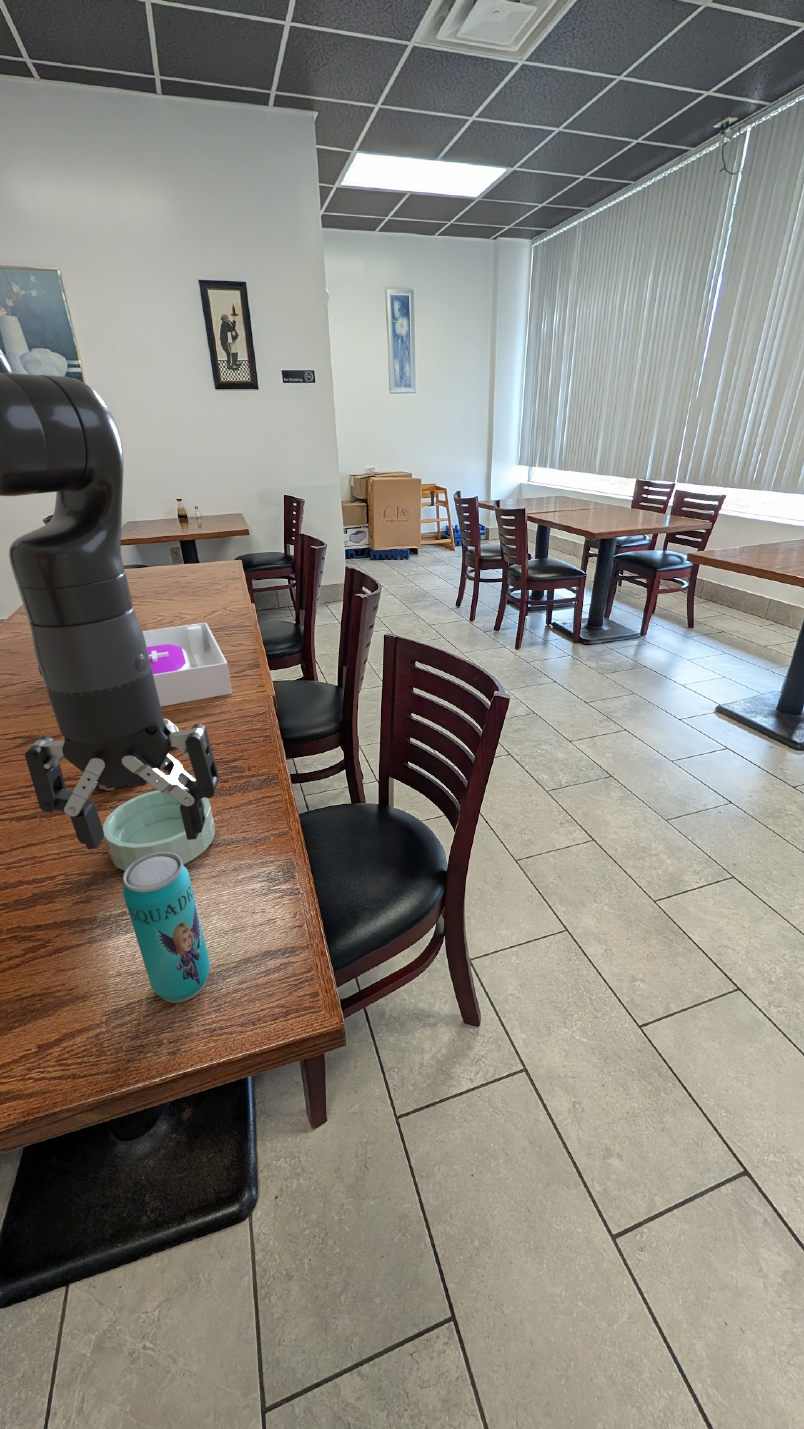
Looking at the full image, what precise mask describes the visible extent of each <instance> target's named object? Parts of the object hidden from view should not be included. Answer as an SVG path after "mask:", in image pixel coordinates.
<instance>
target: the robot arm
mask: <svg viewBox="0 0 804 1429" xmlns="http://www.w3.org/2000/svg"><path fill="white" fill-rule="evenodd" d="M123 486H124V450H123V442H122V438H121V434H120V430H119V426H118V425H117V422H116V420H115V418H114V415H113V413H112V411H111V410H110V408H109V407H108V405H107V404H106V402H105V401H104V399H103V398H102V397H101V396H100V394H98V392H96V391H95V390H94V389H93V388H92V387H91V386H90V385H88V384H87V383H85V382H83V381H81V380H79V379H77V378H73V377H69V376H62V375H47V374H29V373H28V374H27V373H14V372H13V368H12V366H11V365H10V361H9V360H8V358H7V357H6V355H5V354H4V352H3V351H2V349H0V497H19V496H21V497H22V496H28V495H37V494H45V493H56V495H55V503H54V510H53V515H52V517H51V519H50V520H49V522H47V523H45V525H43V526H41V527H39V528H37V529H34V530H32V531H30V532H27V533H25V534H23V535H21V536H20V537H17V538H15V540H14V541H13V542H12V543H11V544H10V546H9V550H8V558H9V564H10V566H11V571H12V574H13V577H14V580H15V583H16V586H17V590H18V592H19V596H20V599H21V602H22V605H23V609H24V611H25V615H26V618H27V621H28V623H29V627H30V631H31V632H30V633H31V638H32V645H33V651H34V654H35V657H36V661H37V664H38V665H37V666H38V672H39V674H40V676H41V677H42V680H43V683H44V686H45V690H46V692H47V696H48V699H49V701H50V702H49V703H50V704H51V708H52V711H53V714H54V717H55V720H56V723H57V726H58V730H59V732H60V734H61V736H63V738H64V740H54V739H53V738H52V737H51V736H49V735H42V736H40V737H39V738H38V739H37V740H36V741H35V742H34V743H33V744H32V745H31V746H30V747H29V748H28V749H27V751H25V753H24V757H25V761H26V764H27V768H28V772H29V775H30V779H31V782H32V786H33V789H34V791H35V796H36V799H37V803H38V806H39V809H40V810H41V811H43V812H45V813H52V812H54V811H61V812H64V814H65V815H67V816H69V817H70V820H71V823H72V826H73V829H74V832H75V835H76V838H77V840H78V841H79V843H80V844H81V845H85V847H86V849H87V850H97V849H99V847H100V845H101V844H102V842H103V840H104V831H103V824H102V822H101V821H102V820H101V819H100V815H99V812H98V809H97V805H96V803H95V801H90V797H91V796H92V794H93V792H94V791H95V789H96V787H97V786H98V785H99V784H100V785H103V786H106V789H110V788H114V789H117V788H120V787H123V786H128V785H129V786H128V787H143V786H146V785H147V783H148V784H149V785H151V786H152V787H153V788H155V789H156V791H157V790H158V791H160V792H161V793H168V794H169V795H171V796H172V797H173V798H174V799H176V800H177V801H178V802H180V803H181V805H180V811H181V816H182V820H183V824H184V828H185V832H186V836H187V839H188V840H193V839H197V837H198V834H199V833H201V832H202V829H203V826H204V823H205V819H206V818H205V814H204V810H203V805H202V800H201V799H202V798H208V799H210V798H212V797H213V796H215V794H216V790H217V787H218V784H219V781H220V775H219V771H218V767H217V763H216V759H215V757H214V753H213V749H212V745H211V742H210V738H209V733H208V731H207V727H206V726H205V725H204V724H203V723H195V724H193V725H192V727H191V728H190V729H187V730H179V732H171V731H170V730H169V729H168V728H167V727H166V725H165V723H164V721H163V719H164V715H163V711H162V706H160V702H159V698H158V693H157V689H156V685H155V681H154V676H153V672H152V668H151V664H150V659H149V655H148V651H147V647H146V643H145V639H144V635H143V632H142V631H143V629H142V626H141V624H140V622H139V620H138V617H137V614H136V611H135V607H134V604H133V600H132V595H131V592H130V587H129V583H128V580H127V574H126V570H125V567H124V562H123V558H122V551H121V550H122V548H121V547H122V545H121V544H122V543H121V542H122V541H121V540H122V525H123V519H122V518H123V516H122V515H123V488H124V487H123ZM172 748H176V749H177V750H179V751H180V753H181V754H182V756H183V757H184V758H186V759H187V758H189V761H190V764H191V768H192V771H193V774H194V777H193V776H192V775H191V774H189V773H188V772H187V771H186V770H185V769H184V767H183V765H182V763H181V762H180V761H179V760H178V759H176V758H175V757H174V756H172V755H171V754H170V751H171V749H172ZM64 758H65V759H66V760H67V761H68V762H69V763H71V764H72V765H73V766H74V767H75V768H77V769H78V770H80V771H81V772H82V774H81V776H80V778H79V779H78V781H77V783H76V785H75V787H74V788H73V790H71V789H67V786H66V782H65V778H64V775H63V774H64V773H63V771H62V767H61V763H62V761H63V760H64ZM160 769H162V770H163V771H164V772H162V771H161V770H160Z"/></svg>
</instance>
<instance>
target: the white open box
mask: <svg viewBox="0 0 804 1429" xmlns="http://www.w3.org/2000/svg"><path fill="white" fill-rule="evenodd" d="M142 632H143V635H144V639H145V643H146V647H147V651H148V655H149V659H150V664H151V668H152V672H153V676H154V681H155V685H156V689H157V693H158V698H159V702H160V706H161V707H166V706H172V705H177V704H182V703H188V702H193V701H199V700H204V699H210V698H215V697H221V696H227V695H230V694H233V688H232V680H231V676H230V670H229V663H228V661H227V659H226V658H225V655H224V653H223V652H222V650H221V647H220V646H219V644H218V641H217V640H216V638H215V636H214V634H213V632H212V630H211V628H210V627H209V624H208V622H199V623H192V624H185V625H177V626H170V627H164V628H157V629H156V628H155V629H148V630H142Z"/></svg>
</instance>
